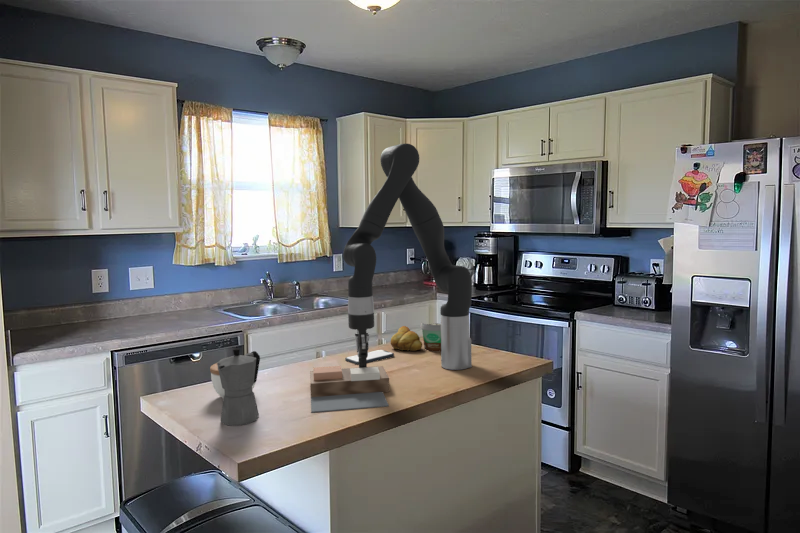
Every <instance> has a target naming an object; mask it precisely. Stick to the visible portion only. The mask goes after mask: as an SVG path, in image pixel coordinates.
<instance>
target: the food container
mask: <svg viewBox="0 0 800 533" xmlns="http://www.w3.org/2000/svg"><path fill="white" fill-rule="evenodd" d="M420 330H421V331H422V340H423V346H424V347H423V348H424V350H425V349H426V350H425V351H427V350H429V351H428V352H433V351H440V352H441V323H437V322H436V323H429V324H426V323H423V322H421V323H420Z"/></svg>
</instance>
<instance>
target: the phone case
mask: <svg viewBox="0 0 800 533" xmlns="http://www.w3.org/2000/svg"><path fill="white" fill-rule="evenodd" d="M390 357H392V358H394V357H395V353H394V352H390V351H387V350H384V349H377V350H373V351H368V357H367V358H366V359H367V364H368V363H373V361H374V362H378V361H383V360H387V359H391V358H390ZM386 358H387V359H386ZM382 359H383V360H382ZM344 360H345V362H348V363H351V364H354V365H357V366H359V358H358V355H357V354H355V355H351V356H346V357H345V359H344ZM377 360H378V361H377Z"/></svg>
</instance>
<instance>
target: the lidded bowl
mask: <svg viewBox="0 0 800 533" xmlns="http://www.w3.org/2000/svg"><path fill="white" fill-rule="evenodd" d="M209 370H210V379H211V384H212V387H213V389H214V392H215V393H216V394H217V395H218V396H220V397H221V398H222V400H223V397H224V395H225V390H224V389H223V388H222V384H221V379H220V375H219V370H218V366H217V362H216V363H214V364H212V365H210V368H209ZM256 383H257V381H256V382H255V383H254V384H253V386H252V391H253V390H254V388H255V386H256Z"/></svg>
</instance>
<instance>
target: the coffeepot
mask: <svg viewBox="0 0 800 533" xmlns="http://www.w3.org/2000/svg"><path fill="white" fill-rule="evenodd" d="M232 351H233V355H232V356H228V357H224V358H221V359H220V360H218V362H216V363H217V366H218V370H219V375H220V379H221V384H222V388H223V389H224V390H225V395H224V397H223V399H222V407H221V415H220V422H221V423H222V424H223V425H225V426H230V427H232V426H233V427H238V426H243V425H244V426H245V425H249V424H251V423H253V422H256V421H257V420H258V418H259V416H260V413H259V409H258V404H257V401H256V395H255V392H254V391H253V390H252V386H253V384H254V383H255V382H256V383H257V380H258V376H259V375H258V374H259V367H260V361H261V357H260V354H259V353H258V352H257V351H255V350H254V351H251V352H248V353H245V354H244V355H242V354H240V351H241V349H240V348H237V347H236V348H233V349H232Z"/></svg>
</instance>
